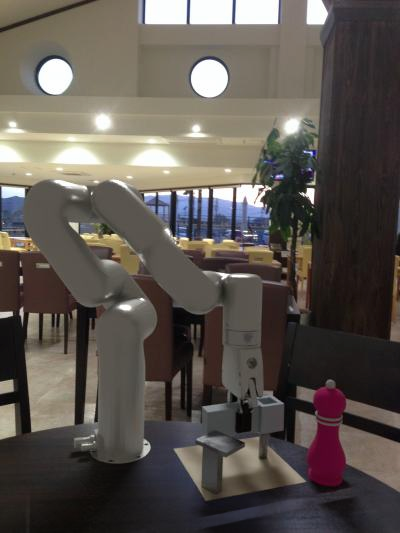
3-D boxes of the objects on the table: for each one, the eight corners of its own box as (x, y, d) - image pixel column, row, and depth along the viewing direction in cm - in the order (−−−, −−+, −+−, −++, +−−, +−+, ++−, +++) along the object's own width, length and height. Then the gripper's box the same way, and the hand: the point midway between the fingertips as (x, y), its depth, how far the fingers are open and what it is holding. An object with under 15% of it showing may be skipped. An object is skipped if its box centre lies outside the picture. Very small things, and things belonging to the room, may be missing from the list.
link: (209, 442, 84) (209, 414, 84) (200, 431, 89) (200, 404, 88) (283, 430, 89) (284, 403, 89) (271, 420, 94) (271, 395, 94)
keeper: (213, 477, 85) (215, 430, 85) (242, 492, 81) (245, 442, 80) (193, 489, 81) (195, 439, 80) (223, 506, 76) (226, 453, 76)
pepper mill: (347, 496, 81) (353, 388, 79) (306, 490, 82) (311, 384, 81) (342, 475, 88) (348, 375, 86) (304, 470, 89) (310, 372, 88)
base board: (205, 507, 76) (205, 500, 76) (173, 454, 94) (173, 448, 94) (306, 487, 83) (306, 481, 83) (258, 441, 101) (258, 436, 101)
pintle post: (260, 465, 90) (262, 429, 90) (256, 461, 92) (258, 426, 91) (268, 464, 91) (270, 428, 90) (264, 460, 93) (265, 425, 92)
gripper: (279, 345, 81) (276, 443, 82) (241, 327, 96) (238, 410, 98) (242, 348, 78) (239, 449, 80) (208, 329, 94) (206, 414, 95)
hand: (239, 427), depth 89 cm, fingers closed on link, 3 cm apart
